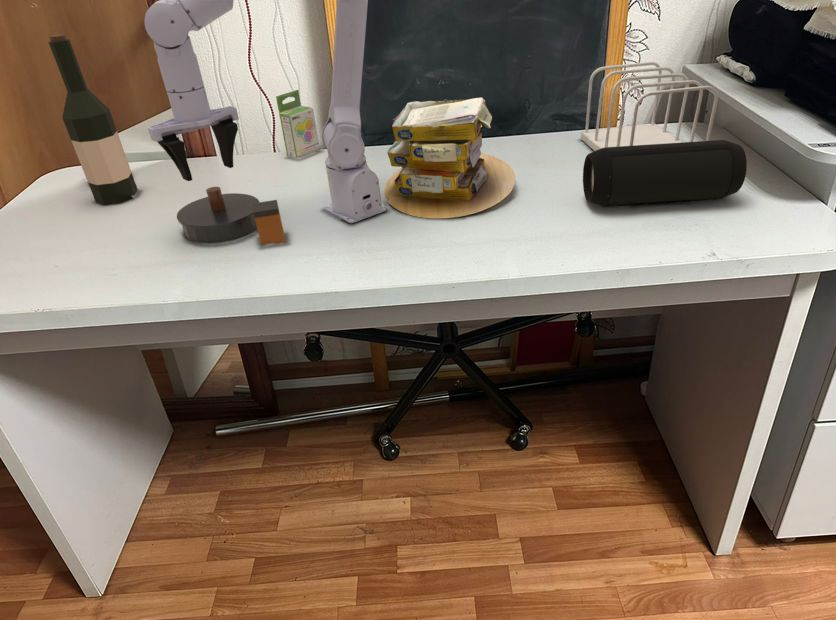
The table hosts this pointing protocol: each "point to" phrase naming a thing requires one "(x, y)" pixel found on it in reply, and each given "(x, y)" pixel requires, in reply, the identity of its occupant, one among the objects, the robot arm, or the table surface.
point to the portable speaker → (663, 173)
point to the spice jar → (268, 222)
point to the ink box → (297, 126)
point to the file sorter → (643, 132)
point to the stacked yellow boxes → (444, 161)
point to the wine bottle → (92, 132)
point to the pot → (221, 232)
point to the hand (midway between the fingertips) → (208, 172)
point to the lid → (217, 210)
